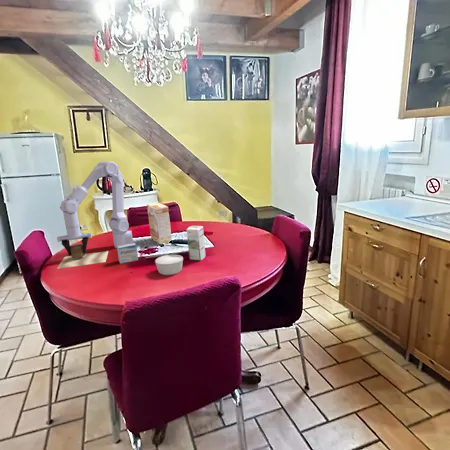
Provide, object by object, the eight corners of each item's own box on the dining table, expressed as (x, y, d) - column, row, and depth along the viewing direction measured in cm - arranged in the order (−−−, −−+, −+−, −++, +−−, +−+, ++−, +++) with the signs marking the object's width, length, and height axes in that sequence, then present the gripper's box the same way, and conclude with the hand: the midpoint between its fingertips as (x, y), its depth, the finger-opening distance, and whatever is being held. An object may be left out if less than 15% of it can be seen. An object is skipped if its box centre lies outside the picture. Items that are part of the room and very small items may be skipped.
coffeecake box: (150, 238, 185) (146, 204, 180) (163, 236, 188) (159, 202, 183) (159, 245, 172) (155, 208, 167) (172, 242, 175) (168, 206, 170)
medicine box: (121, 267, 146) (118, 248, 144) (119, 264, 150) (116, 245, 147) (139, 263, 149) (136, 244, 147) (136, 260, 153) (134, 242, 151)
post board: (109, 253, 164) (107, 244, 163) (106, 265, 149) (104, 254, 148) (65, 259, 160) (63, 249, 158) (57, 271, 145) (55, 261, 143)
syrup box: (206, 256, 152) (203, 225, 148) (200, 261, 147) (198, 229, 143) (194, 255, 154) (191, 225, 150) (189, 260, 148) (186, 228, 145)
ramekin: (187, 266, 142) (186, 254, 141) (178, 277, 131) (177, 264, 130) (163, 265, 145) (161, 254, 143) (152, 276, 134) (150, 263, 133)
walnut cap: (87, 254, 158) (85, 244, 156) (79, 258, 153) (77, 247, 151) (77, 253, 159) (75, 243, 158) (69, 258, 154) (67, 247, 153)
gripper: (90, 222, 158) (95, 249, 161) (57, 225, 154) (63, 253, 158) (88, 225, 151) (93, 254, 154) (53, 229, 148) (59, 258, 151)
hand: (77, 254), depth 156 cm, fingers closed on walnut cap, 6 cm apart
